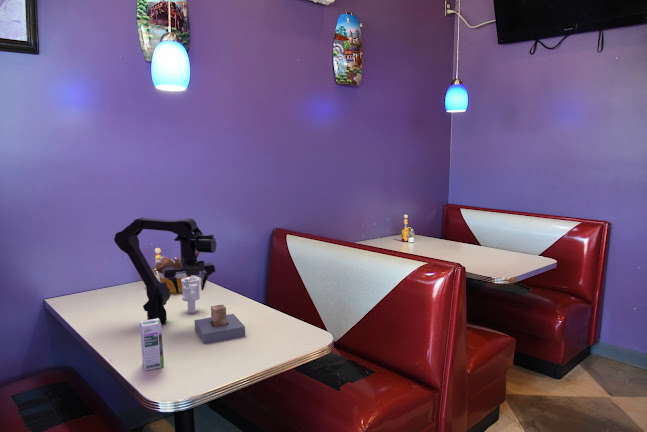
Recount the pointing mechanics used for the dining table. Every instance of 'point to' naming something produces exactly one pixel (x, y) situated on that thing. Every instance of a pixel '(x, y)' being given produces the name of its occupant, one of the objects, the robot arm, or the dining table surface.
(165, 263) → the bucket of meat
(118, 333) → the dining table surface
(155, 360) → the syrup box
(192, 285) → the windowed cylinder housing
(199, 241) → the robot arm
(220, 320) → the oak peg
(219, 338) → the socket block
